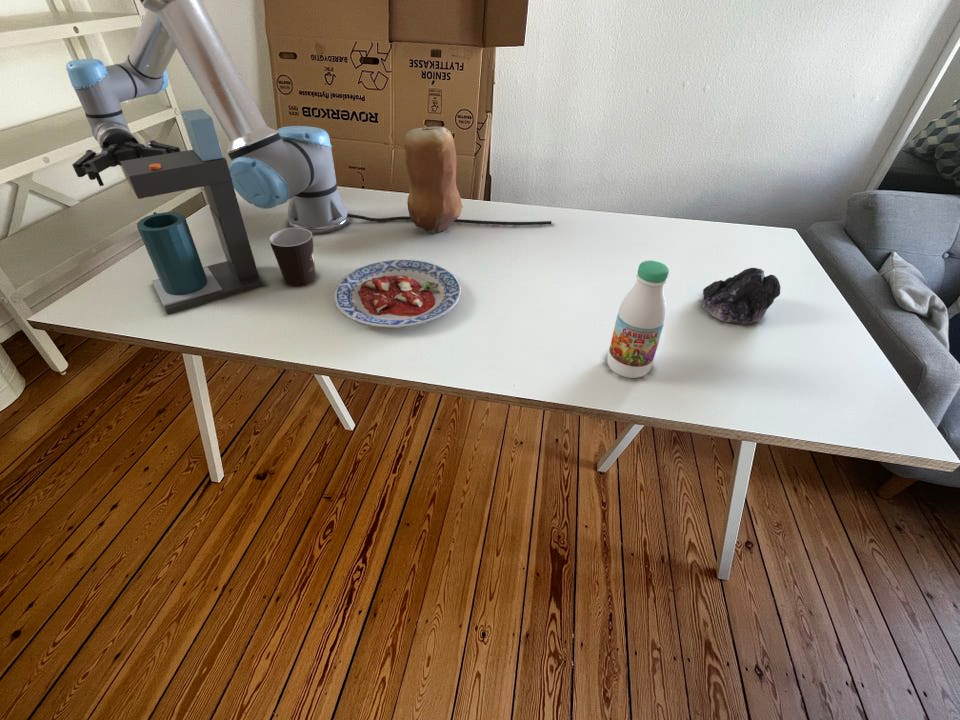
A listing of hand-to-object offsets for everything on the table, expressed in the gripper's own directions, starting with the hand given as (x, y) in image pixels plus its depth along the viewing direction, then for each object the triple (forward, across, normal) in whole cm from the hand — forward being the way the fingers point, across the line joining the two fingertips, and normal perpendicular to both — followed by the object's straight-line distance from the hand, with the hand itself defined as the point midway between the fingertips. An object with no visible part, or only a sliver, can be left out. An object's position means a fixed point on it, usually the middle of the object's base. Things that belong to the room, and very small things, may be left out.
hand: (137, 172), depth 106 cm
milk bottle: (+86, -57, -21) cm, 105 cm away
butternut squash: (+21, -58, -20) cm, 65 cm away
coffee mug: (+24, -22, -20) cm, 38 cm away
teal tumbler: (+16, 0, -18) cm, 25 cm away
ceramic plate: (+44, -34, -20) cm, 59 cm away
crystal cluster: (+86, -89, -21) cm, 126 cm away
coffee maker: (+17, -4, -20) cm, 26 cm away
